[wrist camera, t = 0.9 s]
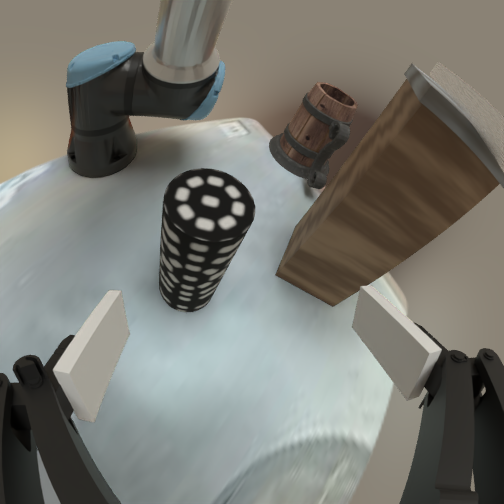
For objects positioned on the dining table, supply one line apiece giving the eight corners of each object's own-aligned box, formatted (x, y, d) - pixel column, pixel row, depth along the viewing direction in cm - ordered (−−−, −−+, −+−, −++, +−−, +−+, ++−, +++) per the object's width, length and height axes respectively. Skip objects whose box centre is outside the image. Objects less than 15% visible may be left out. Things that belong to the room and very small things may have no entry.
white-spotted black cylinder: (153, 305, 37) (151, 227, 21) (166, 255, 42) (177, 160, 25) (209, 317, 39) (250, 252, 23) (217, 267, 43) (258, 181, 27)
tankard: (267, 128, 68) (296, 66, 51) (322, 145, 72) (357, 91, 56) (272, 191, 56) (316, 115, 39) (340, 208, 60) (392, 148, 44)
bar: (526, 209, 10) (553, 184, 8) (508, 181, 10) (535, 153, 8) (443, 86, 28) (452, 74, 26) (429, 74, 28) (438, 61, 26)
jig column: (334, 310, 46) (515, 177, 16) (271, 275, 46) (431, 85, 15) (347, 255, 54) (481, 127, 23) (294, 223, 53) (411, 63, 23)
